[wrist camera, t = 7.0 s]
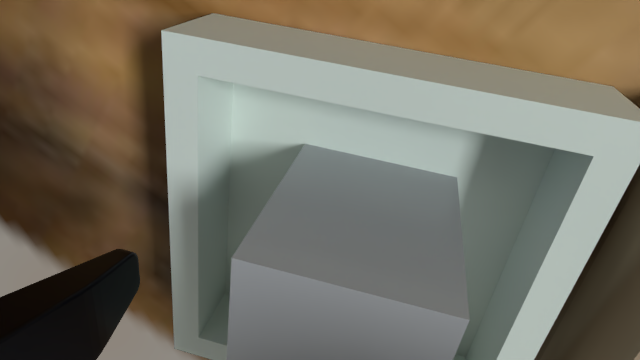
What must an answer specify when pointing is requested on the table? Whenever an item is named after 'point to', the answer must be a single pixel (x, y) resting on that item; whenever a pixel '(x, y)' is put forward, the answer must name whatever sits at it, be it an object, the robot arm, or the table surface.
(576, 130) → the tub
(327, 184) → the stone block
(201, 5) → the table surface
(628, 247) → the crate
